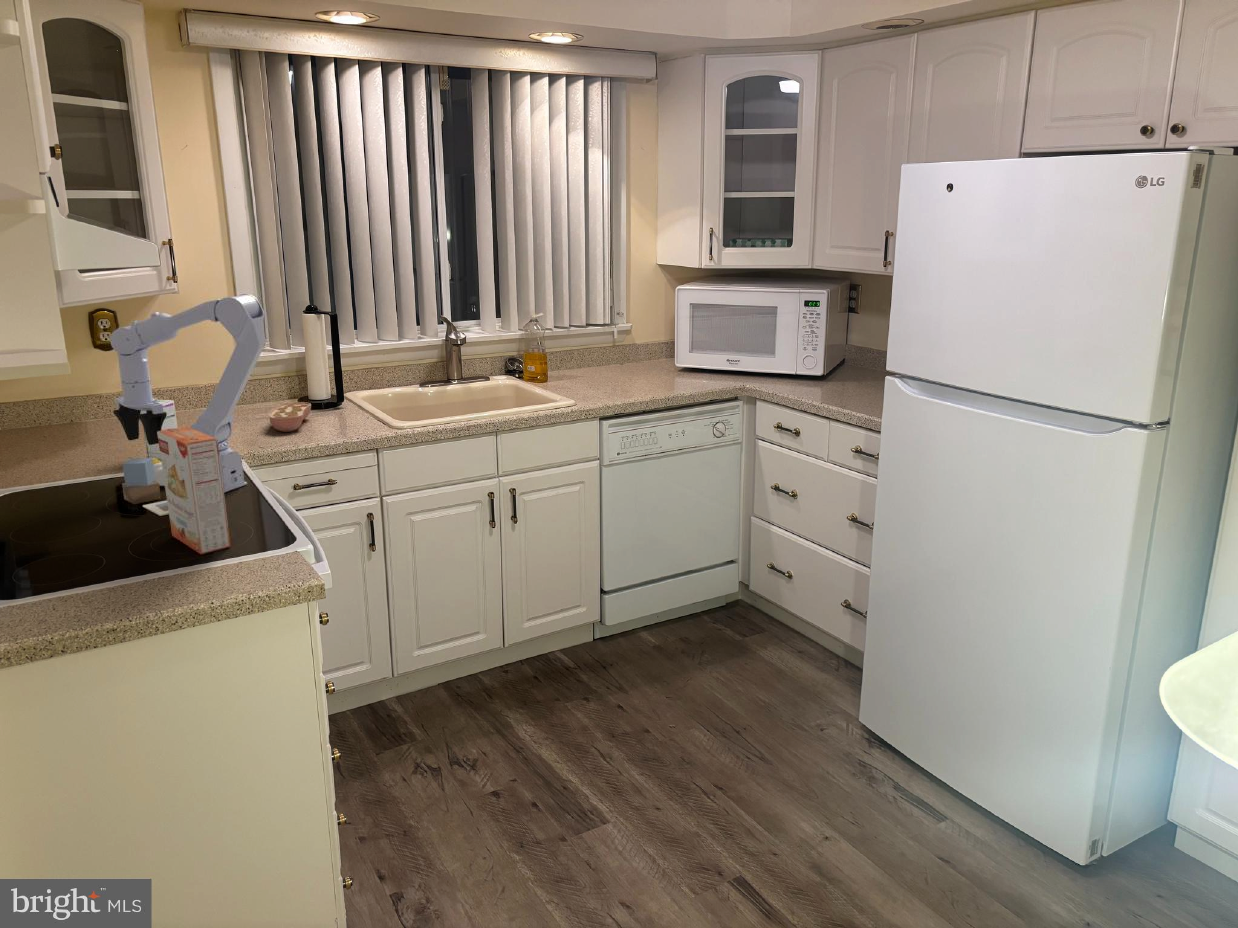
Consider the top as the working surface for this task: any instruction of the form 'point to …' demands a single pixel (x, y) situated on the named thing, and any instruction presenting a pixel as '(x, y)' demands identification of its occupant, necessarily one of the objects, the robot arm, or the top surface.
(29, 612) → the top surface
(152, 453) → the syrup box
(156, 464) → the supplement bottle
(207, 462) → the cracker box
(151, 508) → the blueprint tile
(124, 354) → the robot arm
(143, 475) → the light blue block
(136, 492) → the walnut base
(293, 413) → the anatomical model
